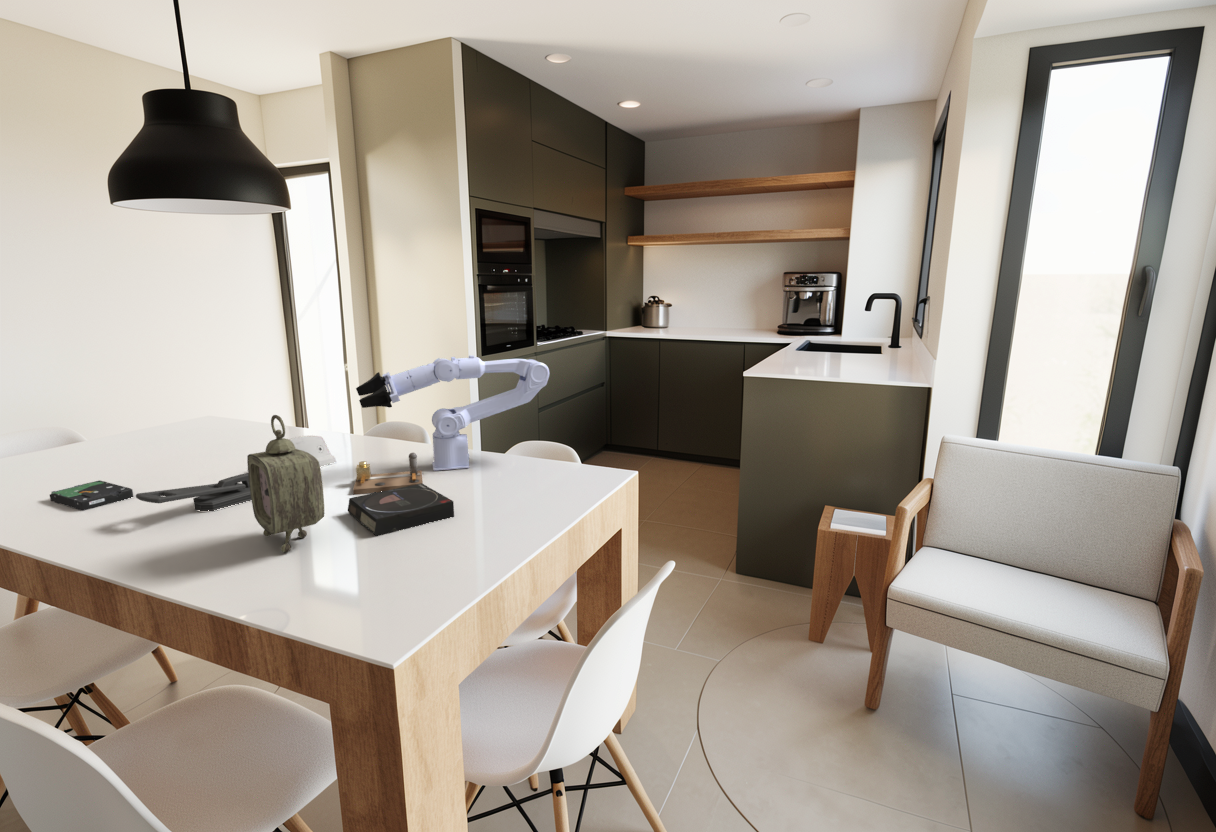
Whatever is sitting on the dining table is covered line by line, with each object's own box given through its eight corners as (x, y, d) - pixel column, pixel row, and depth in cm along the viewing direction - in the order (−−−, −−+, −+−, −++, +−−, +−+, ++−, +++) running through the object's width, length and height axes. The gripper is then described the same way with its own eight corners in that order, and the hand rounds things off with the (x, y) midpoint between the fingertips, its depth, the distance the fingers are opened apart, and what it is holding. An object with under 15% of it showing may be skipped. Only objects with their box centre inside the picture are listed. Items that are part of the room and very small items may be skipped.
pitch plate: (422, 474, 162) (420, 448, 161) (422, 488, 151) (421, 460, 150) (357, 480, 157) (355, 453, 156) (353, 494, 146) (350, 465, 145)
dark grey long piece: (130, 493, 127) (244, 463, 149) (135, 524, 128) (247, 489, 150) (156, 499, 123) (269, 468, 145) (160, 530, 124) (272, 494, 147)
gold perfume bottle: (370, 475, 156) (369, 460, 155) (368, 483, 149) (367, 467, 148) (358, 476, 155) (356, 461, 154) (355, 484, 148) (354, 468, 147)
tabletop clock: (255, 536, 121) (240, 413, 116) (303, 524, 127) (291, 406, 122) (279, 558, 111) (264, 424, 106) (330, 544, 117) (318, 417, 112)
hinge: (286, 478, 159) (273, 442, 158) (274, 482, 161) (262, 446, 160) (337, 462, 174) (326, 429, 173) (326, 465, 176) (315, 433, 175)
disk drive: (135, 499, 145) (101, 490, 151) (133, 488, 144) (99, 479, 150) (83, 513, 135) (49, 502, 142) (81, 501, 135) (47, 491, 141)
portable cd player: (348, 516, 134) (346, 498, 133) (422, 499, 144) (421, 483, 144) (374, 539, 121) (373, 519, 120) (454, 518, 132) (453, 501, 131)
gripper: (401, 357, 166) (350, 373, 161) (411, 378, 154) (356, 396, 150) (409, 380, 169) (360, 396, 165) (419, 401, 158) (366, 420, 154)
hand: (358, 397), depth 158 cm, fingers open, 7 cm apart
